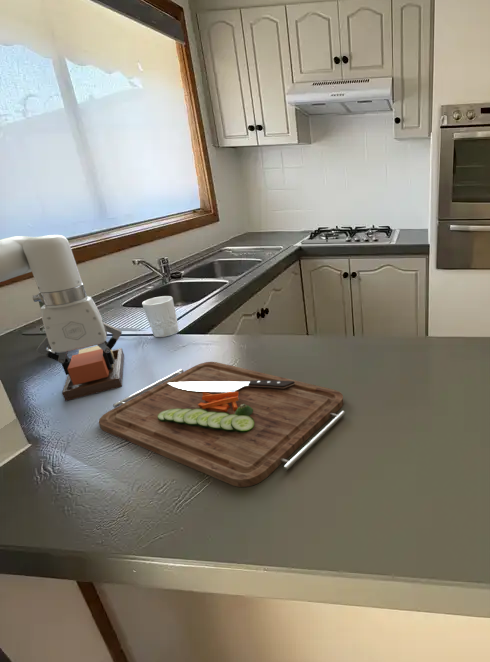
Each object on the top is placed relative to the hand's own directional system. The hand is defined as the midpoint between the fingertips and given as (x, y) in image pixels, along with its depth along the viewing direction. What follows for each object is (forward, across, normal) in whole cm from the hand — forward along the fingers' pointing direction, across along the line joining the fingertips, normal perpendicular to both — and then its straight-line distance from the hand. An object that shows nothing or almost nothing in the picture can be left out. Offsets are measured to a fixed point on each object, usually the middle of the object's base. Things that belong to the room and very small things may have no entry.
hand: (91, 371), depth 95 cm
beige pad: (+2, 0, +8) cm, 9 cm away
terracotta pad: (+1, 0, 0) cm, 1 cm away
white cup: (+3, +16, +24) cm, 29 cm away
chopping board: (+3, +23, -30) cm, 38 cm away
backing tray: (+3, 0, +4) cm, 5 cm away
